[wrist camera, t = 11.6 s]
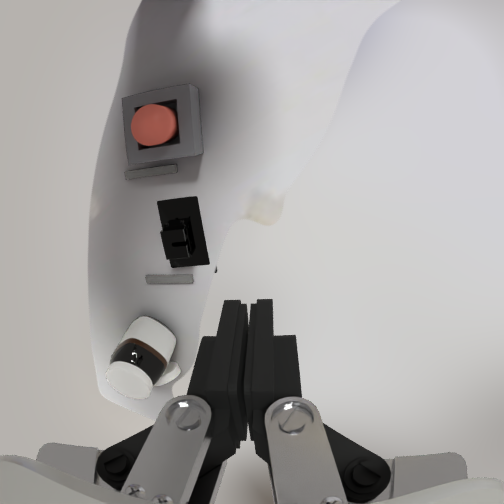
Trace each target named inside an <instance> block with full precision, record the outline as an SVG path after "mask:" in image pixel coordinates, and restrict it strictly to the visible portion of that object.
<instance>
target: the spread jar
mask: <svg viewBox="0 0 504 504" xmlns="http://www.w3.org/2000/svg"><path fill="white" fill-rule="evenodd" d="M175 344H176V338H175V335H174V334H173V333H172V331H171V330H170V329H169V328H168V327H167V326H166V325H165V324H163V323H162V322H160V321H159V320H157V319H155V318H153V317H150V316H141V317H139V318H137V319H136V320H135V321H134V322H133V323H132V324H131V325H130V327H129V328H128V330H127V331H126V333H125V334H124V336H123V338H122V339H121V341H120V343H119V344H118V346H117V348H116V349H115V351H114V353H113V355H112V357H111V360H110V366H109V368H108V370H107V372H106V379H107V381H108V383H109V384H110V385H111V386H112V387H113V388H114V389H115V390H116V391H117V392H119V393H120V394H122V395H124V396H126V397H129V398H132V399H137V400H143V399H146V398H148V397H149V395H150V393H151V390H152V387H157V386H160V385H163V384H166V383H168V382H170V381H172V380H173V379H175V378H176V377H177V376H178V375H179V374H180V372H181V370H180V368H179V366H178V364H177V363H176V362H169V361H170V358H171V355H172V353H173V350H174V348H175Z"/></svg>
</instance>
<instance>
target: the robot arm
mask: <svg viewBox="0 0 504 504" xmlns="http://www.w3.org/2000/svg"><path fill="white" fill-rule="evenodd" d="M248 425H249V431H250V437H251V441H254V443H255V450H256V454H257V455H258V456H259V457H260V458H262V459H263V460H264V461H265V462H267V463H268V470H269V475H270V482H271V488H272V494H273V500H274V504H504V482H503V481H501V480H498V479H494V478H471V479H468V478H467V466H466V462H465V460H464V459H463V457H462V456H461V455H459V454H457V453H450V452H448V453H441V454H431V455H421V456H420V455H419V456H406V457H405V456H403V457H395V458H394V459H382V458H381V457H380V456H378V455H376V454H374V453H372V452H371V451H369V450H367V449H365V448H364V447H362V446H360V445H358V444H356V443H355V442H353V441H351V440H350V439H348V438H346V437H345V436H343V435H341V434H340V433H338V432H336V431H335V430H333V429H332V428H330V427H328V426H327V425H325V424H324V423H323V422H322V420H321V416H320V413H319V411H318V409H317V407H316V406H315V405H314V404H313V403H312V402H311V401H309V400H306V399H304V398H302V394H301V383H300V372H299V362H298V353H297V343H296V336H295V335H283V336H274V335H273V301H272V299H258V300H257V304H251V310H250V321H249V324H248V313H247V305H246V304H241V301H240V300H225V301H224V304H223V308H222V313H221V318H220V322H219V327H218V331H217V336H204V337H203V338H202V340H201V343H200V347H199V351H198V354H197V358H196V362H195V365H194V369H193V373H192V376H191V380H190V384H189V388H188V392H187V395H184V396H178V397H176V398H173V399H171V400H170V401H169V402H167V403H166V404H165V406H164V407H163V408H162V410H161V412H160V414H159V416H158V418H157V420H156V422H155V424H154V425H152V426H150V427H148V428H147V429H145V430H143V431H141V432H139V433H137V434H135V435H133V436H131V437H129V438H127V439H125V440H123V441H121V442H119V443H117V444H115V445H113V446H111V447H109V448H107V449H106V450H99V449H98V448H94V447H83V446H74V445H66V444H58V443H47V444H45V445H43V446H42V447H41V448H40V450H39V452H38V455H37V459H36V460H33V459H30V458H26V457H22V456H16V455H3V456H0V504H214V502H215V499H216V496H217V493H218V490H219V487H220V484H221V480H222V477H223V474H224V471H225V467H226V464H227V459H228V458H229V457H231V456H232V455H234V454H235V453H236V448H240V441H243V440H244V441H246V438H247V426H248Z"/></svg>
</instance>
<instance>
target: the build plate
mask: <svg viewBox="0 0 504 504" xmlns="http://www.w3.org/2000/svg"><path fill="white" fill-rule="evenodd" d="M157 205H158V210H159V215H160V220H161V224H162V229H163V230H162V231H161V232H160V234H161V238H162V243H163V247H164V251H165V255H166V259H167V260H168V259H169V260H170V264H171V267H172V268H177V267H187V266H198V265H209V264H210V262H209V257H208V252H207V246H206V241H205V236H204V231H203V226H202V220H201V215H200V209H199V204H198V198H197V196H193V197H185V198H177V199H169V200H162V201H157ZM214 273H217V265H216V269H215V272H214Z"/></svg>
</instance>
